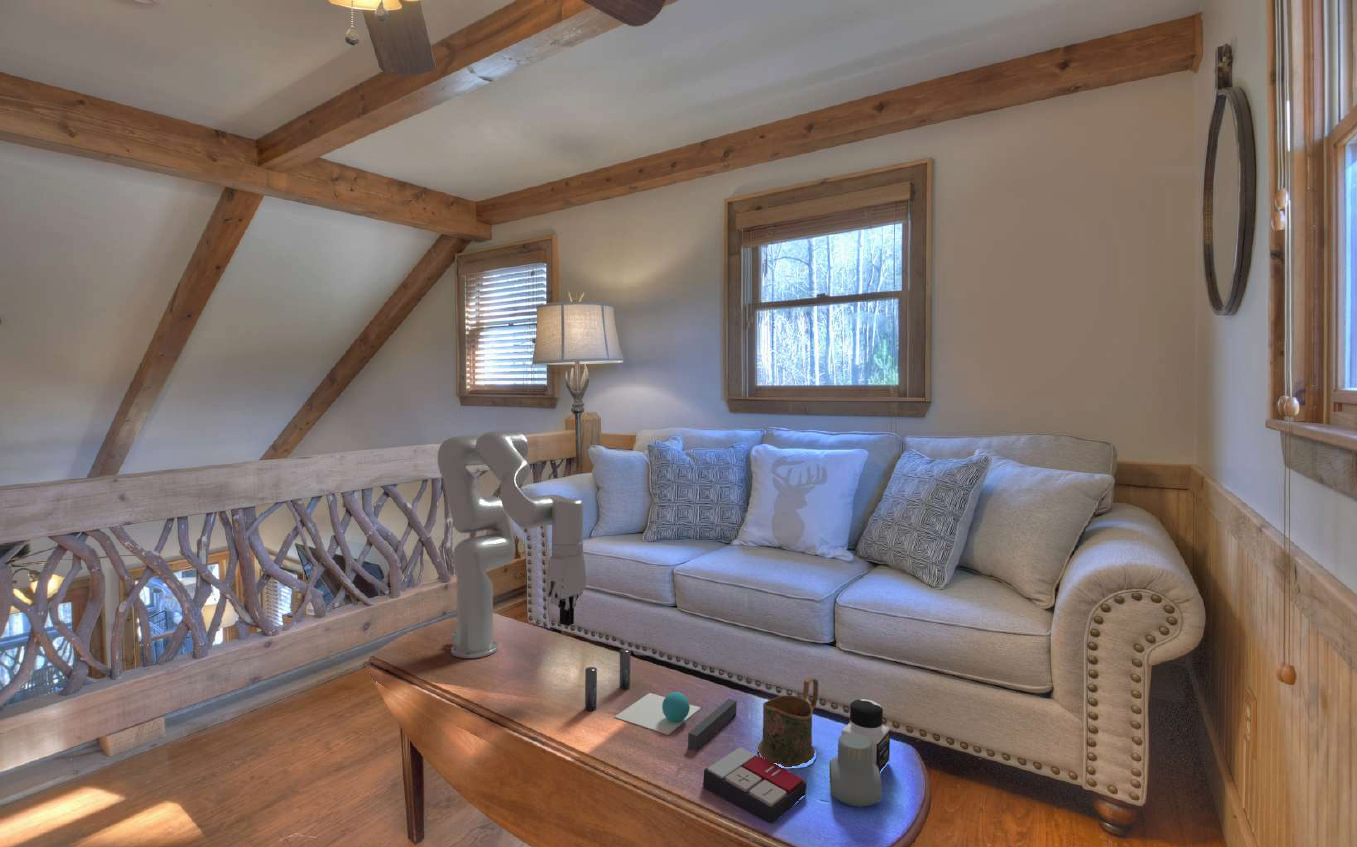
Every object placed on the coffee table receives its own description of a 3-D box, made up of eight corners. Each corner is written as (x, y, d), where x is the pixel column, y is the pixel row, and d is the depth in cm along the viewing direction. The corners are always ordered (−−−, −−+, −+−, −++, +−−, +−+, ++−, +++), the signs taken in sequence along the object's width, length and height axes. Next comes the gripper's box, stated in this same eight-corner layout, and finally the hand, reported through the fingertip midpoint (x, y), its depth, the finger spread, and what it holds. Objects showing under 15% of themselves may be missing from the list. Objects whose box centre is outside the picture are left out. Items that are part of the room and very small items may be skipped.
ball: (674, 732, 136) (653, 714, 139) (688, 721, 142) (667, 703, 144) (684, 709, 135) (663, 691, 138) (698, 699, 140) (677, 682, 143)
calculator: (772, 805, 105) (703, 765, 115) (770, 830, 105) (701, 788, 115) (807, 777, 113) (740, 742, 123) (806, 801, 113) (738, 764, 124)
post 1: (582, 709, 144) (582, 669, 144) (589, 704, 147) (590, 666, 146) (591, 712, 143) (591, 672, 143) (598, 707, 145) (599, 668, 145)
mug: (840, 739, 133) (841, 682, 132) (797, 776, 119) (798, 712, 119) (791, 721, 140) (792, 667, 140) (746, 754, 127) (747, 694, 126)
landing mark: (614, 717, 141) (614, 716, 141) (649, 693, 153) (649, 692, 153) (668, 735, 133) (668, 734, 133) (700, 708, 145) (700, 707, 145)
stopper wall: (688, 747, 129) (688, 732, 129) (728, 711, 144) (728, 698, 144) (696, 750, 128) (696, 735, 128) (736, 714, 143) (736, 700, 143)
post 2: (617, 687, 156) (617, 651, 155) (623, 684, 158) (624, 647, 158) (626, 690, 154) (626, 653, 154) (632, 686, 156) (632, 650, 156)
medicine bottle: (876, 780, 118) (878, 716, 118) (840, 766, 123) (841, 704, 122) (889, 763, 124) (891, 702, 124) (854, 751, 128) (855, 691, 128)
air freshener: (828, 776, 119) (829, 723, 119) (874, 781, 118) (875, 727, 118) (832, 812, 109) (833, 754, 108) (882, 818, 107) (883, 759, 107)
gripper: (575, 542, 165) (574, 613, 165) (534, 553, 152) (533, 629, 152) (598, 545, 161) (597, 618, 161) (558, 557, 148) (557, 636, 148)
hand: (566, 623), depth 157 cm, fingers closed
